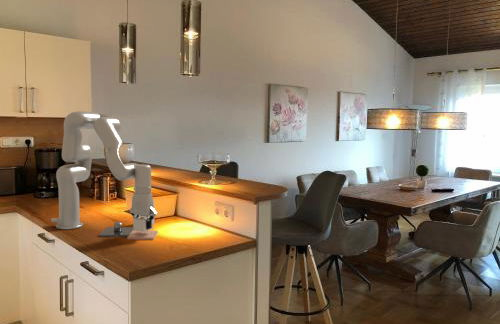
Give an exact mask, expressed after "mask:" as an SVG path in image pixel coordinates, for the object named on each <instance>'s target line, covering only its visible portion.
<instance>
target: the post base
mask: <svg viewBox="0 0 500 324" xmlns="http://www.w3.org/2000/svg"><path fill="white" fill-rule="evenodd" d="M122 224H123V223H122V222H121V221H115V222H113V226H107V227H105V229H103V230H102V231H101V232H100V233H99V234H98V237H99V238H100V237H101V238H104V237H105V238H127V237H128V236H129V235H130V233H131V232H132V231H135V230H133V226H132V227H131V226H130V227H129V226H128V227H127V226H126V227H125V226H123V225H122Z"/></svg>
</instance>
